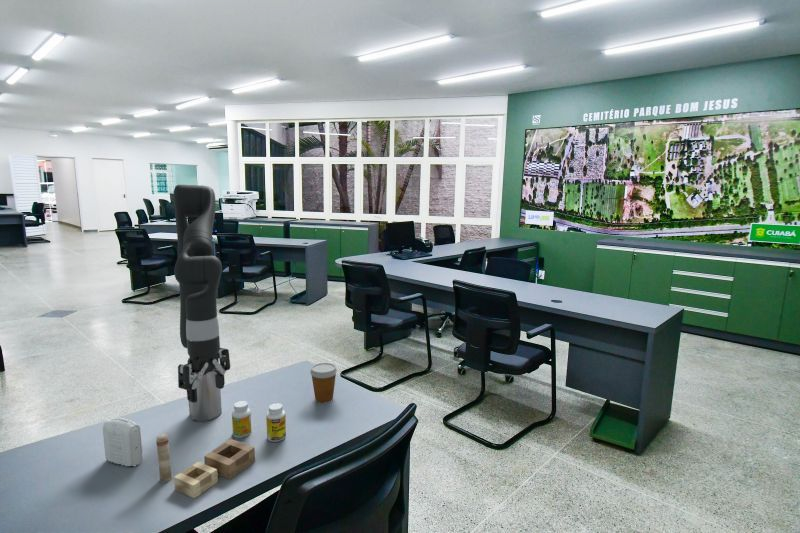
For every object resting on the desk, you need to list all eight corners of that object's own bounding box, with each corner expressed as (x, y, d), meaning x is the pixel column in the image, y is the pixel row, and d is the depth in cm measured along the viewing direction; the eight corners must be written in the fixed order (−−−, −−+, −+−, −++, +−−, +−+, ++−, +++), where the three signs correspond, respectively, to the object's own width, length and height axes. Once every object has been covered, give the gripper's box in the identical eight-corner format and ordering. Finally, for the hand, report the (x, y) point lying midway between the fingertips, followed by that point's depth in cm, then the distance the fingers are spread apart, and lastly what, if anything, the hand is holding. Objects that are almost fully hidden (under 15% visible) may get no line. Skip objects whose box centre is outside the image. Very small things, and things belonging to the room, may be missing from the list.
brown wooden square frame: (205, 469, 117) (204, 455, 116) (231, 451, 125) (230, 438, 124) (229, 479, 113) (228, 465, 112) (255, 460, 121) (254, 447, 120)
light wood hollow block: (175, 489, 109) (174, 476, 108) (198, 473, 115) (197, 461, 114) (194, 498, 106) (193, 485, 105) (217, 481, 112) (217, 469, 111)
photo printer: (145, 460, 120) (141, 418, 118) (132, 469, 116) (127, 426, 114) (117, 453, 123) (113, 412, 121) (103, 461, 119) (98, 420, 117)
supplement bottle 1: (231, 438, 131) (229, 408, 129) (235, 429, 136) (233, 400, 135) (249, 437, 132) (248, 407, 130) (252, 428, 137) (251, 399, 135)
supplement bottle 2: (270, 444, 128) (269, 412, 126) (264, 436, 133) (263, 404, 131) (288, 439, 131) (287, 407, 130) (282, 430, 136) (281, 400, 134)
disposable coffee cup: (335, 405, 152) (334, 373, 150) (308, 405, 152) (307, 372, 150) (339, 393, 161) (339, 362, 159) (313, 392, 162) (313, 361, 160)
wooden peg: (157, 481, 112) (153, 438, 110) (167, 474, 114) (163, 432, 112) (164, 484, 111) (160, 440, 109) (174, 478, 113) (170, 435, 111)
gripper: (214, 324, 118) (217, 381, 120) (167, 341, 105) (172, 403, 108) (235, 328, 115) (238, 386, 117) (189, 346, 102) (194, 410, 105)
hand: (206, 394), depth 113 cm, fingers open, 8 cm apart
